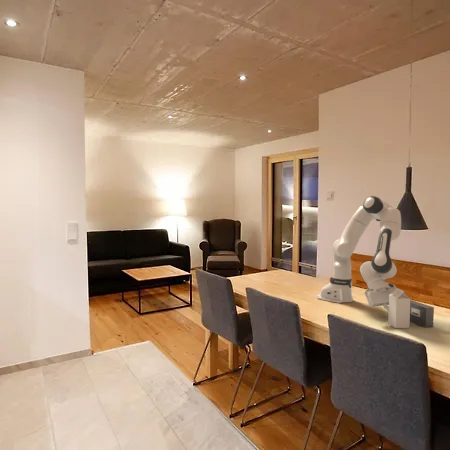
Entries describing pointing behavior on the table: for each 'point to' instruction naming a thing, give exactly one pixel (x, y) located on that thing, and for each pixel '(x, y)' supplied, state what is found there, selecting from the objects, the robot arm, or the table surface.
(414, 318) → the grey rectangular box
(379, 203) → the robot arm
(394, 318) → the milk carton
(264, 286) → the table surface
